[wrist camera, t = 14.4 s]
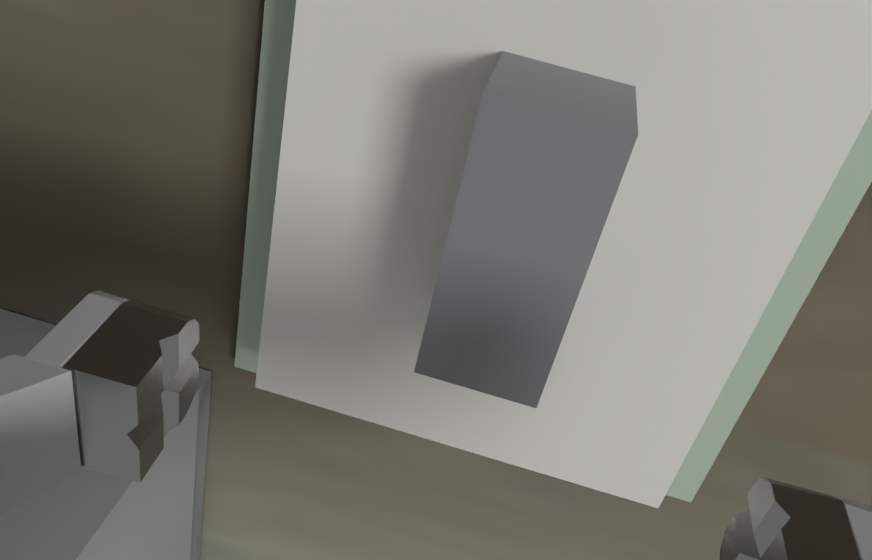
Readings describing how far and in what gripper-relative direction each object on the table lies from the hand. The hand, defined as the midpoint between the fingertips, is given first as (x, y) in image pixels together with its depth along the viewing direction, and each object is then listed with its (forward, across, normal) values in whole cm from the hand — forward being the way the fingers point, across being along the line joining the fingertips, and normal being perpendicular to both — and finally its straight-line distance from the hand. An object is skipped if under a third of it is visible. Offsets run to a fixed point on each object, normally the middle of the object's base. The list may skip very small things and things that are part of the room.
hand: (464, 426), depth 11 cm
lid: (+11, 0, +1) cm, 11 cm away
